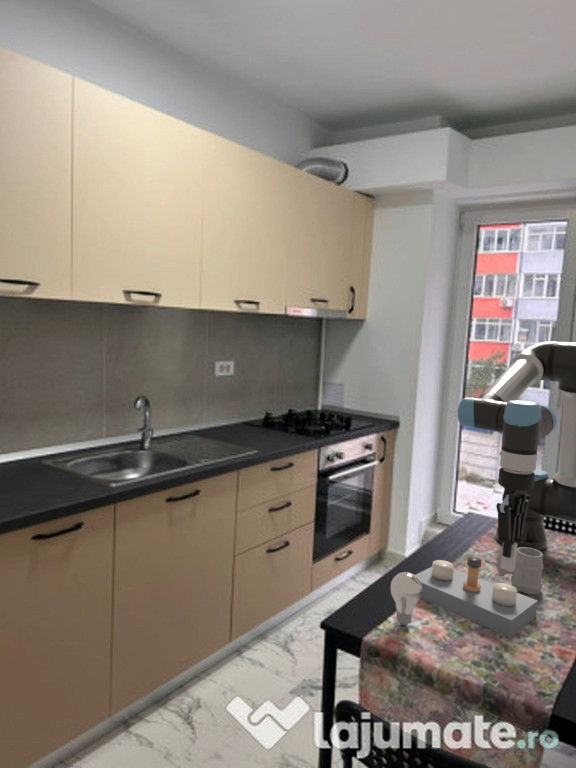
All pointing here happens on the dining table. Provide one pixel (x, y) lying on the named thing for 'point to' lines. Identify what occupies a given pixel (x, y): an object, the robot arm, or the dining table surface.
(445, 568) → the knob
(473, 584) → the ball
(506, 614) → the panel
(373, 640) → the dining table surface
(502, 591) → the knob
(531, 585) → the mug
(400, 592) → the light bulb
